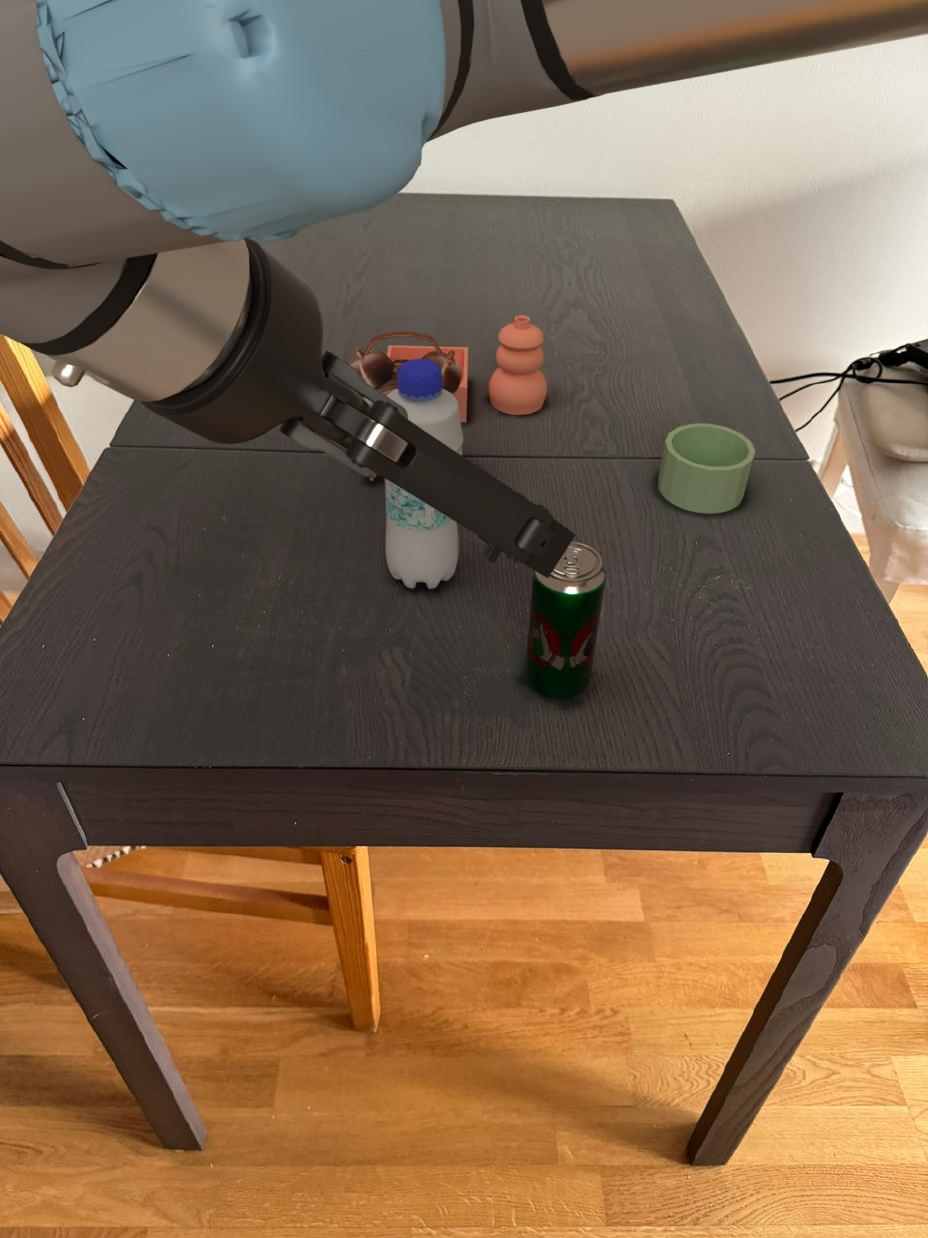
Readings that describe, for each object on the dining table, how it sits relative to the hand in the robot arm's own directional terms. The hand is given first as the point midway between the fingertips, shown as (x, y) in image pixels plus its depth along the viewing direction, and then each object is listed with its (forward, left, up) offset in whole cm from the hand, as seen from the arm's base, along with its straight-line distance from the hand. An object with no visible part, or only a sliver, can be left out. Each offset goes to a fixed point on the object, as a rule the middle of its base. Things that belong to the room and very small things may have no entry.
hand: (468, 497), depth 52 cm
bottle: (+11, -17, -22) cm, 30 cm away
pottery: (+19, -47, -22) cm, 55 cm away
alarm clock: (+19, -31, -22) cm, 43 cm away
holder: (-9, -40, -22) cm, 47 cm away
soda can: (-4, -9, -22) cm, 24 cm away
